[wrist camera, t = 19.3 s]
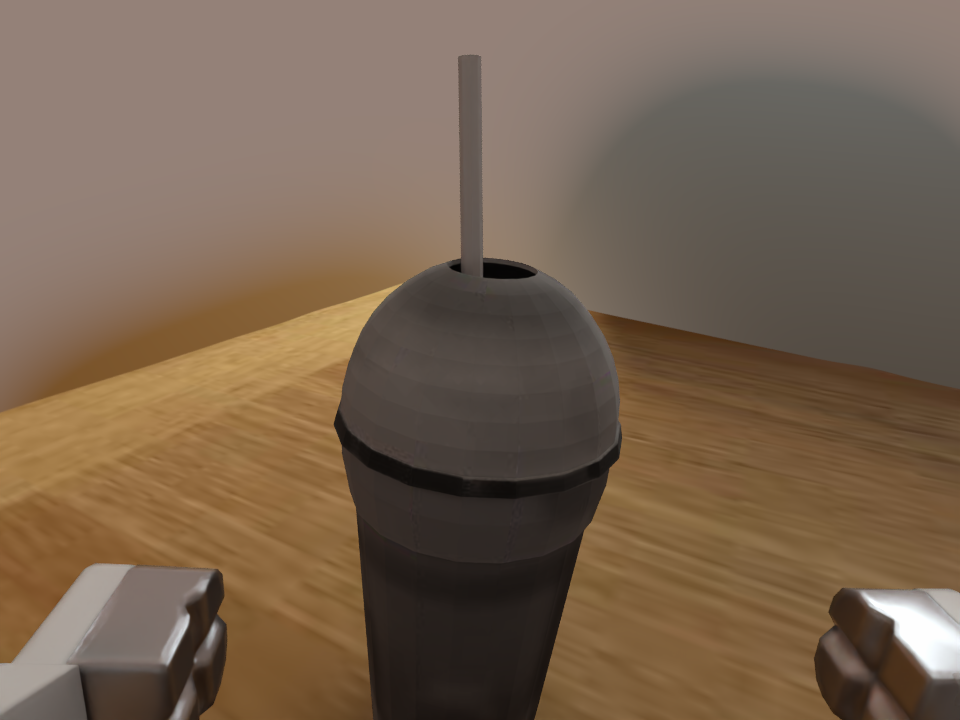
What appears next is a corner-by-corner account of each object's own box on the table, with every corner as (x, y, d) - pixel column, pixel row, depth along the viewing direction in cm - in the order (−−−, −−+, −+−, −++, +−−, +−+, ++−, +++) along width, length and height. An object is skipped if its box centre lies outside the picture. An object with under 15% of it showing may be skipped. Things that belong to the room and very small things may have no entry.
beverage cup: (452, 935, 16) (548, 29, 9) (284, 745, 21) (262, 32, 14) (609, 747, 22) (746, 77, 14) (448, 627, 26) (493, 68, 19)
